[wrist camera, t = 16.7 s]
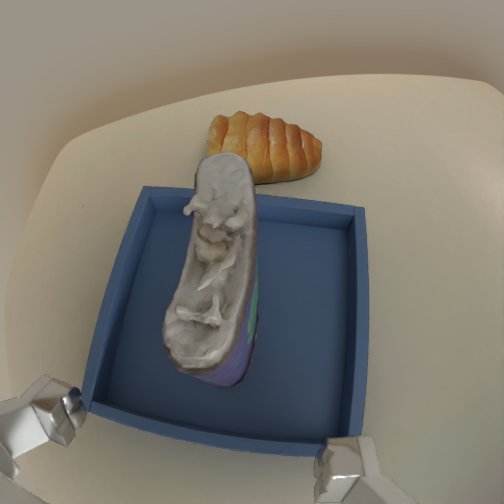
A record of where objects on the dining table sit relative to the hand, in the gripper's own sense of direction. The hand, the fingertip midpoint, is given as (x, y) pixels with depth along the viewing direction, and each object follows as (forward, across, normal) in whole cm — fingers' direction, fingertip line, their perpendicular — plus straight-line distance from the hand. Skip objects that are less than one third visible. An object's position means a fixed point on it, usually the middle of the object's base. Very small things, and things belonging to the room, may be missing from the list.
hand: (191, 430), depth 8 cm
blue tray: (+11, 0, +2) cm, 11 cm away
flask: (+10, 0, +1) cm, 11 cm away
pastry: (+21, 0, -8) cm, 22 cm away
